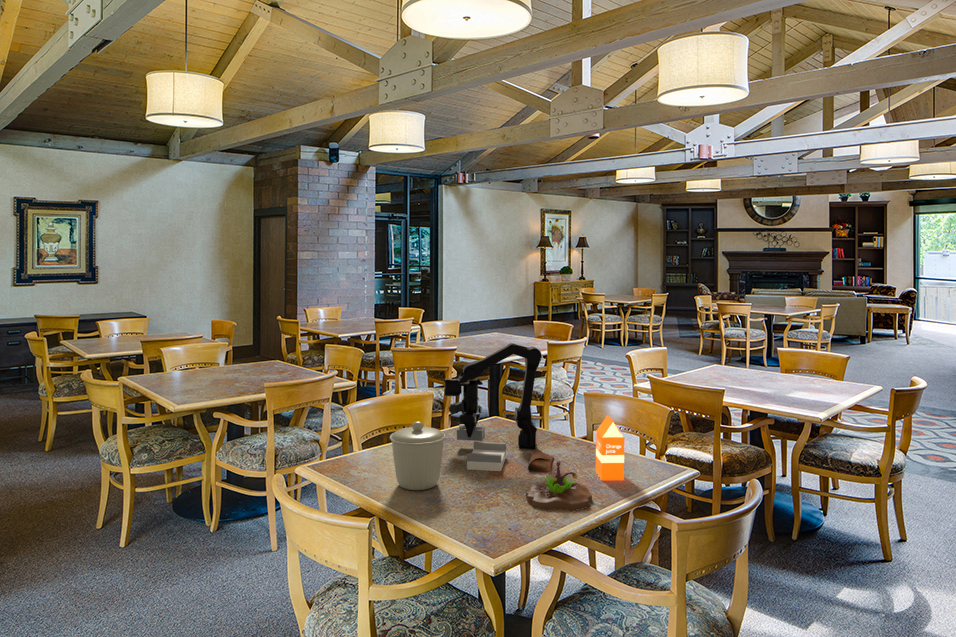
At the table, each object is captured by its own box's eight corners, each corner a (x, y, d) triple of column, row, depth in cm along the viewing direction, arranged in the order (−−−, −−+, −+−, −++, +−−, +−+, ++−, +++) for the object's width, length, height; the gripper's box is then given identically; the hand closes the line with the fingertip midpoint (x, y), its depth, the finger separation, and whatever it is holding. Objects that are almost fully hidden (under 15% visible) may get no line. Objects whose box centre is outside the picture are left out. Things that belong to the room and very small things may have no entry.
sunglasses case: (552, 472, 217) (542, 456, 217) (535, 482, 218) (525, 465, 218) (554, 457, 235) (545, 441, 235) (538, 465, 236) (529, 450, 236)
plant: (590, 489, 203) (590, 455, 202) (593, 512, 183) (594, 475, 182) (528, 486, 205) (528, 452, 204) (524, 509, 186) (525, 472, 185)
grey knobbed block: (484, 437, 248) (484, 424, 248) (482, 441, 243) (482, 427, 242) (460, 435, 250) (460, 423, 250) (456, 439, 245) (456, 426, 244)
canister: (383, 493, 198) (382, 427, 196) (398, 474, 215) (397, 414, 214) (439, 496, 195) (439, 429, 193) (450, 477, 213) (450, 416, 211)
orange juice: (617, 471, 219) (618, 415, 217) (624, 480, 210) (625, 421, 208) (595, 471, 219) (595, 415, 217) (600, 480, 210) (601, 421, 208)
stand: (506, 457, 235) (506, 442, 234) (500, 471, 219) (501, 455, 219) (474, 455, 237) (474, 441, 236) (466, 469, 221) (466, 454, 220)
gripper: (454, 390, 256) (455, 428, 257) (445, 400, 237) (445, 440, 239) (481, 391, 254) (482, 429, 255) (474, 401, 235) (474, 442, 237)
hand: (470, 435), depth 246 cm, fingers closed on grey knobbed block, 6 cm apart
